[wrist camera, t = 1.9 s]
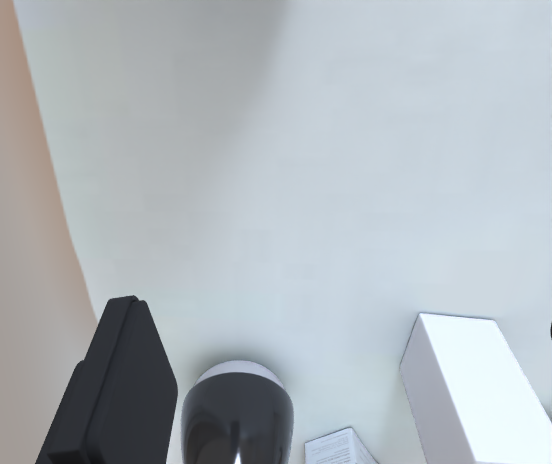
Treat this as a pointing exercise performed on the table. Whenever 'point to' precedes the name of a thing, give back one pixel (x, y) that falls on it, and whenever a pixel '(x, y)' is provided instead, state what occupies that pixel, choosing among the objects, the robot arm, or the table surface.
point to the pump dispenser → (237, 417)
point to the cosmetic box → (338, 449)
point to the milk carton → (472, 395)
